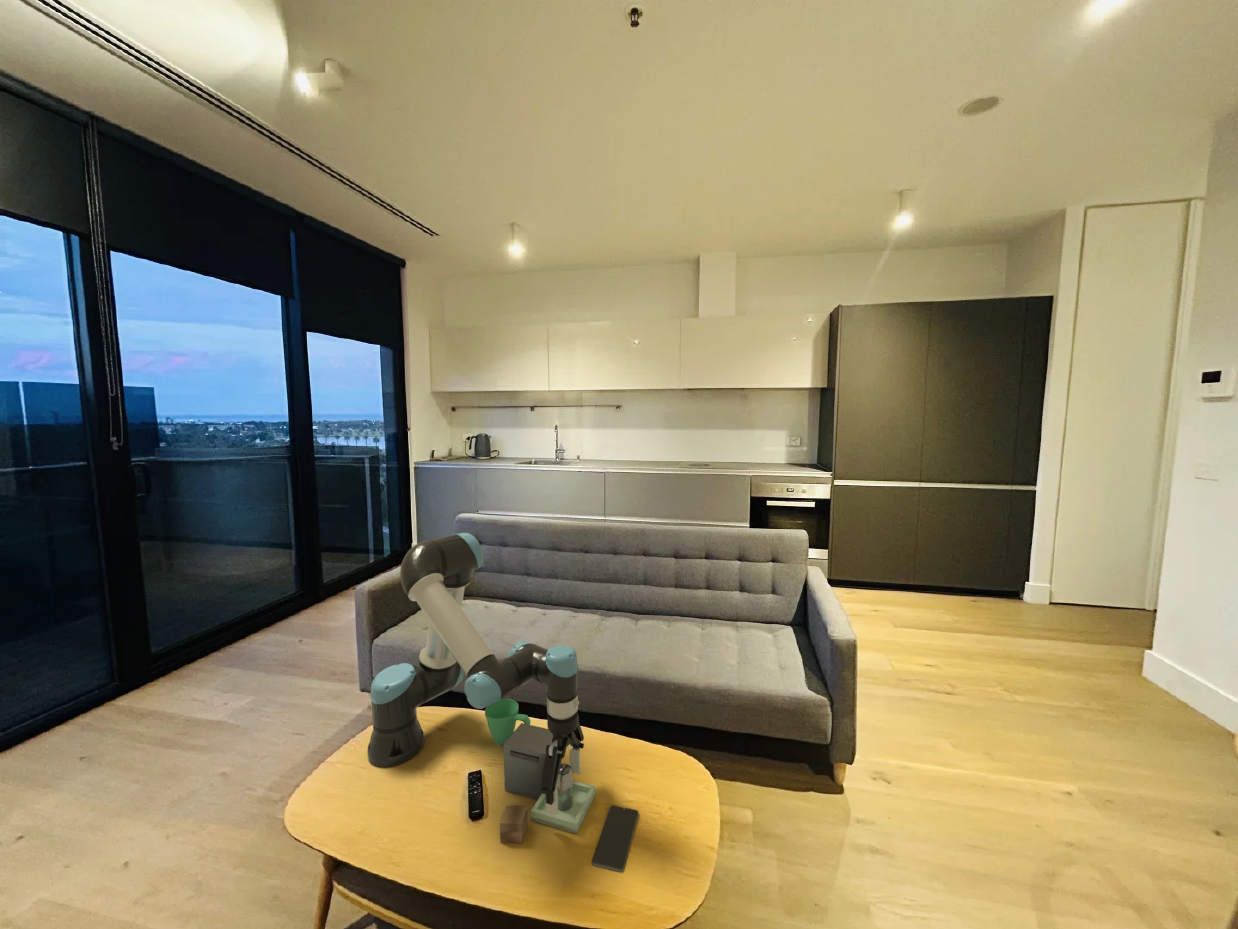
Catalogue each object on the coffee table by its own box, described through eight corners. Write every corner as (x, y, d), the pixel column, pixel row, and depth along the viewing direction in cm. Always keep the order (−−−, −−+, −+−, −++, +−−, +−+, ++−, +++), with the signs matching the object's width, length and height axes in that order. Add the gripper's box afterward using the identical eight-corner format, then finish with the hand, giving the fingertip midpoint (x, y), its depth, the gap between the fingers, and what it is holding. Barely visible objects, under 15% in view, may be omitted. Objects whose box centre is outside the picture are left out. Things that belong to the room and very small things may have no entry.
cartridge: (552, 808, 117) (551, 772, 116) (559, 795, 121) (559, 760, 120) (568, 813, 116) (567, 776, 115) (575, 799, 120) (575, 764, 119)
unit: (504, 791, 124) (502, 745, 122) (523, 765, 133) (522, 721, 132) (545, 803, 120) (544, 755, 119) (562, 775, 129) (561, 730, 128)
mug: (479, 746, 141) (477, 714, 140) (499, 726, 150) (498, 696, 149) (521, 758, 136) (520, 726, 135) (539, 737, 145) (538, 706, 144)
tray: (531, 820, 115) (531, 811, 115) (553, 784, 126) (553, 775, 126) (576, 834, 111) (576, 824, 111) (595, 795, 122) (595, 786, 122)
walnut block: (500, 843, 109) (499, 823, 108) (506, 824, 114) (506, 805, 113) (521, 844, 109) (521, 824, 108) (527, 825, 114) (526, 806, 113)
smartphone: (590, 863, 103) (610, 804, 119) (590, 867, 103) (610, 808, 119) (623, 871, 101) (639, 810, 117) (623, 875, 101) (639, 814, 117)
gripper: (553, 748, 103) (555, 837, 105) (595, 686, 127) (596, 760, 129) (523, 740, 105) (525, 828, 108) (569, 681, 129) (570, 754, 131)
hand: (564, 792), depth 118 cm, fingers open, 13 cm apart
